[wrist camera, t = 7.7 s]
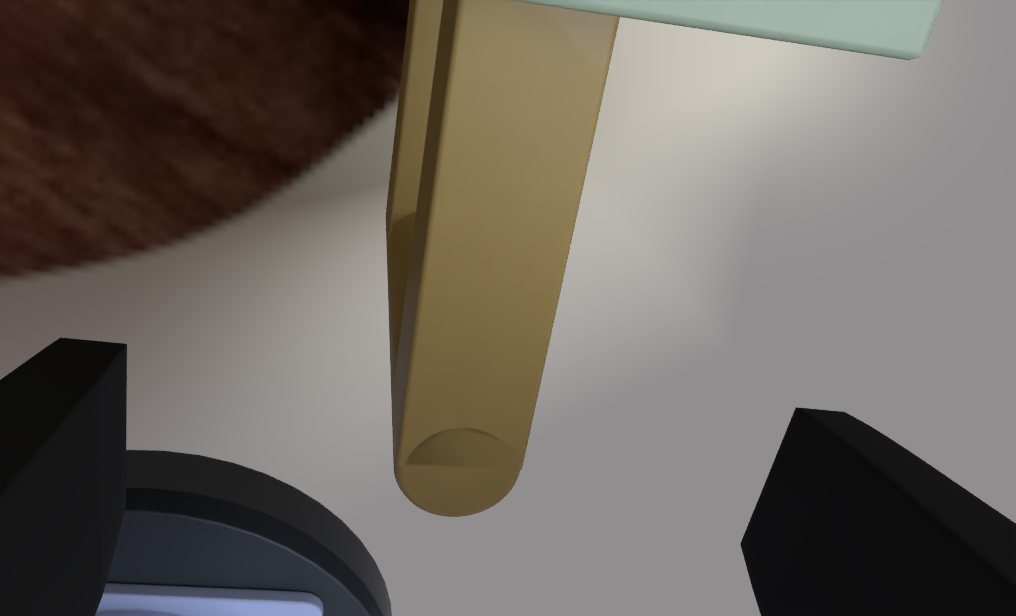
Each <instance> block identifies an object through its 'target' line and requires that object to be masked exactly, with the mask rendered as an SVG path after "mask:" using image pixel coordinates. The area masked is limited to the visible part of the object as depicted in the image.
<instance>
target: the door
mask: <svg viewBox="0 0 1016 616" xmlns="http://www.w3.org/2000/svg"><path fill="white" fill-rule="evenodd" d="M942 1H943V0H410V4H409V13H408V22H407V31H406V39H405V48H404V57H403V66H402V75H401V84H400V93H399V102H398V111H397V119H396V129H395V137H394V147H393V155H392V165H391V173H390V182H389V191H388V200H387V208H386V209H387V212H386V234H387V235H386V237H387V268H388V298H389V299H388V300H389V332H390V361H391V362H390V363H391V395H392V426H393V454H394V455H393V457H394V474H395V478H396V481H397V483H398V486H399V488H400V489H401V491H402V492H403V493H404V495H405V496H406V497H407V498H408V499H409V500H410V501H411V502H412V503H413V504H415V505H416V506H417V507H419V508H421V509H423V510H425V511H427V512H429V513H433V514H436V515H441V516H450V517H458V516H467V515H472V514H476V513H479V512H482V511H484V510H486V509H488V508H490V507H492V506H494V505H495V504H497V503H498V502H499V501H501V500H502V499H503V498H504V497H505V496H506V495H507V494H508V493H509V492H510V490H511V489H512V487H513V486H514V484H515V482H516V480H517V478H518V475H519V472H520V470H521V469H522V466H523V461H524V457H525V452H526V447H527V443H528V438H529V434H530V429H531V424H532V419H533V415H534V410H535V406H536V401H537V397H538V392H539V387H540V383H541V378H542V374H543V369H544V364H545V360H546V355H547V351H548V346H549V341H550V337H551V332H552V327H553V323H554V318H555V313H556V309H557V304H558V300H559V295H560V290H561V285H562V281H563V276H564V272H565V268H566V263H567V258H568V254H569V249H570V244H571V239H572V235H573V230H574V226H575V221H576V217H577V212H578V207H579V203H580V198H581V194H582V189H583V184H584V180H585V175H586V171H587V165H588V161H589V157H590V152H591V148H592V143H593V138H594V134H595V129H596V124H597V120H598V115H599V111H600V106H601V101H602V97H603V92H604V87H605V83H606V78H607V74H608V69H609V64H610V60H611V55H612V51H613V46H614V41H615V37H616V32H617V28H618V23H619V18H620V17H626V18H632V19H639V20H646V21H653V22H659V23H665V24H672V25H679V26H685V27H692V28H699V29H705V30H712V31H719V32H725V33H732V34H739V35H745V36H752V37H758V38H765V39H772V40H778V41H785V42H792V43H798V44H806V45H813V46H818V47H825V48H832V49H839V50H846V51H852V52H858V53H865V54H872V55H879V56H885V57H892V58H898V59H905V60H910V59H915V58H919V57H920V56H921V54H922V53H923V52H924V49H925V46H926V44H927V41H928V39H929V36H930V33H931V30H932V28H933V25H934V22H935V20H936V17H937V14H938V12H939V9H940V6H941V4H942Z"/></svg>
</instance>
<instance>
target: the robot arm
mask: <svg viewBox="0 0 1016 616" xmlns="http://www.w3.org/2000/svg"><path fill="white" fill-rule="evenodd" d="M126 371H127V344H122V343H111V342H101V341H90V340H79V339H69V338H59V339H58V340H56V341H55V342H53V343H52V344H50V345H49V346H47V347H46V348H45V349H43V350H42V351H40V352H39V353H38V354H36V355H35V356H33V357H32V358H31V359H29V360H28V361H26V362H25V363H23V364H22V365H21V366H19V367H18V368H17V369H15V370H14V371H12V372H11V373H9V374H8V375H7V376H5V377H4V378H2V379H1V380H0V616H323V610H324V608H323V602H322V601H321V600H320V598H319V597H317V596H316V595H314V594H312V593H307V592H296V591H274V590H252V589H230V588H208V587H186V586H164V585H142V584H120V583H106V580H107V577H108V573H109V569H110V566H111V562H112V558H113V554H114V551H115V547H116V543H117V539H118V535H119V531H120V527H121V523H122V519H123V515H124V511H125V508H126V383H127V376H126V375H127V372H126ZM741 548H742V551H743V555H744V559H745V562H746V566H747V570H748V573H749V577H750V580H751V584H752V588H753V591H754V594H755V598H756V601H757V604H758V607H759V610H760V613H761V616H1016V523H1014V522H1013V521H1011V520H1010V519H1008V518H1007V517H1005V516H1004V515H1002V514H1001V513H999V512H998V511H996V510H995V509H993V508H992V507H990V506H988V504H986V503H985V502H983V501H982V500H980V499H979V498H977V497H976V496H974V495H973V494H971V493H970V492H969V491H967V490H966V489H964V488H963V487H961V486H960V485H958V484H957V483H955V482H954V481H952V480H951V479H950V478H948V477H947V476H945V475H944V474H942V473H941V472H939V471H938V470H936V469H935V468H933V467H932V466H931V465H929V464H927V463H926V462H925V461H923V460H922V459H920V458H919V457H917V456H916V455H914V454H913V453H911V452H910V451H908V450H907V449H905V448H904V447H902V446H901V445H899V444H898V443H896V442H894V441H893V440H891V439H890V438H888V437H887V436H885V435H884V434H882V433H880V432H879V431H877V430H876V429H874V428H872V427H871V426H869V425H867V424H865V423H864V422H862V421H860V420H858V419H856V418H855V417H853V416H851V415H849V414H847V413H845V412H838V411H828V410H817V409H807V408H796V409H795V411H794V413H793V416H792V419H791V421H790V423H789V426H788V428H787V431H786V433H785V436H784V438H783V440H782V443H781V445H780V448H779V450H778V453H777V455H776V458H775V460H774V463H773V465H772V468H771V470H770V472H769V475H768V478H767V480H766V482H765V485H764V487H763V490H762V492H761V495H760V497H759V500H758V502H757V504H756V507H755V510H754V512H753V514H752V517H751V519H750V522H749V524H748V527H747V529H746V532H745V534H744V536H743V539H742V541H741Z"/></svg>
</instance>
